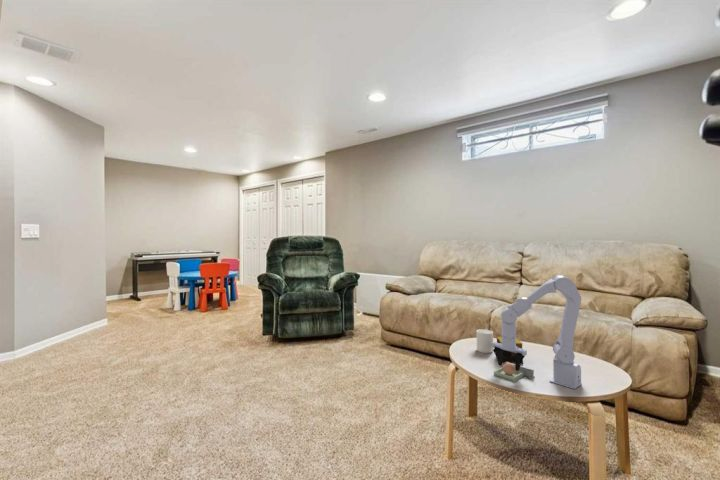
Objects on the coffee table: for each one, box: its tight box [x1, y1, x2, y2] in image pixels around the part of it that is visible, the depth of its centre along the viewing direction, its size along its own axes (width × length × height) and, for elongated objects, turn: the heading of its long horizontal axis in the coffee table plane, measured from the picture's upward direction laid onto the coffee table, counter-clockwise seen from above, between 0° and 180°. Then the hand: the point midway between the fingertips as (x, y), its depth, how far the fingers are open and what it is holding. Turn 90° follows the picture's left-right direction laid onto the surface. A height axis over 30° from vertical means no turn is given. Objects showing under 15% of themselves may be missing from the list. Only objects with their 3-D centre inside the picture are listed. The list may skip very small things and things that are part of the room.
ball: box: [502, 363, 515, 375], centre depth 147 cm, size 5×5×5 cm
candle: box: [496, 336, 524, 365], centre depth 166 cm, size 10×10×10 cm
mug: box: [476, 328, 494, 354], centre depth 181 cm, size 12×8×10 cm
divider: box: [506, 362, 535, 380], centre depth 149 cm, size 12×2×4 cm, turn 39°
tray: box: [493, 366, 525, 382], centre depth 147 cm, size 9×9×2 cm
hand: (508, 367), depth 147 cm, fingers open, 7 cm apart
